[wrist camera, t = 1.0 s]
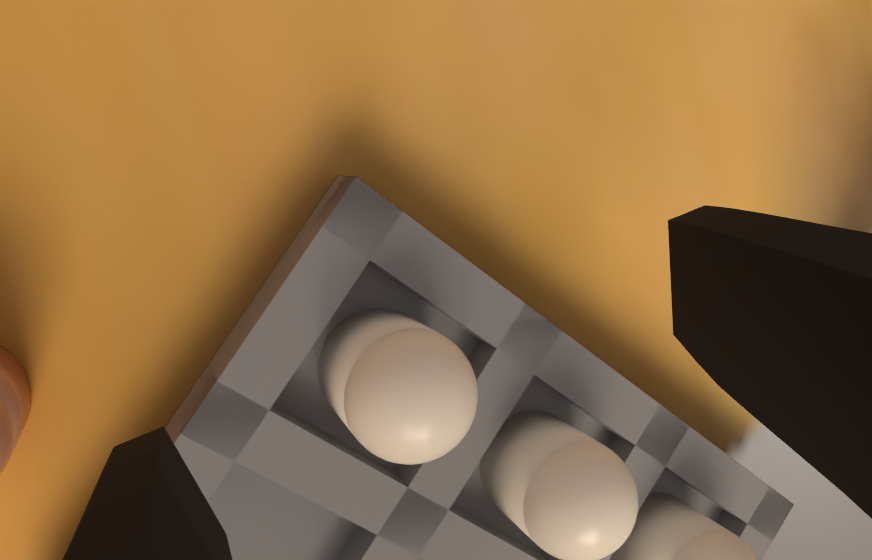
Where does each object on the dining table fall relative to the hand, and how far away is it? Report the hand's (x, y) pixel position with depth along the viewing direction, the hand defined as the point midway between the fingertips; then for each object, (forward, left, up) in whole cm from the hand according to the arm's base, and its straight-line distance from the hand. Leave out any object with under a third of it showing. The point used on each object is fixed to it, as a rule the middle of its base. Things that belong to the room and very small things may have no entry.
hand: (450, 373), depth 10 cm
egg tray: (-5, -14, -17) cm, 23 cm away
